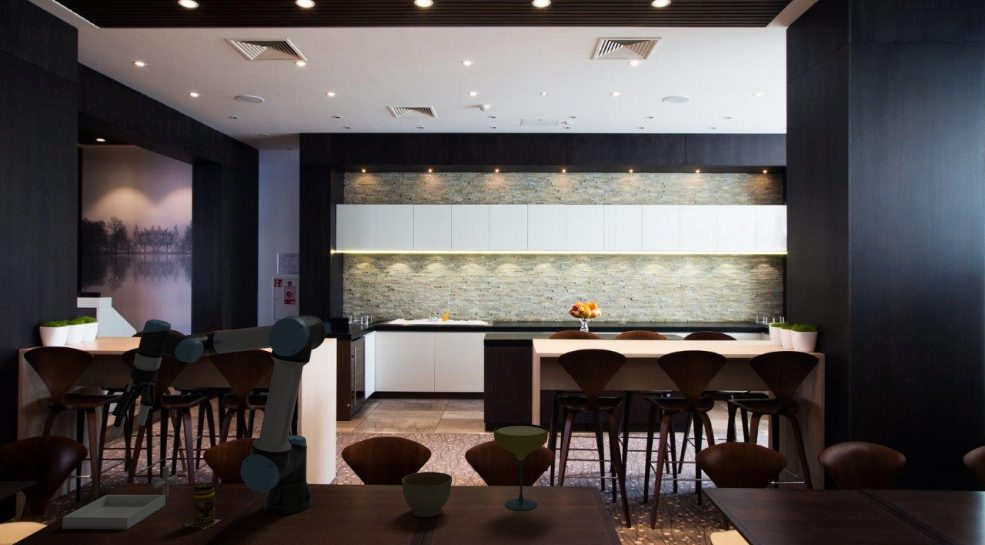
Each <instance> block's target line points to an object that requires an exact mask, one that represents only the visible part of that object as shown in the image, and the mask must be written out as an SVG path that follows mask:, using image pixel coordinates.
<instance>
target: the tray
mask: <svg viewBox="0 0 985 545" xmlns="http://www.w3.org/2000/svg"><path fill="white" fill-rule="evenodd" d="M163 506H164V507H166V497H165V495H161V494H159V495H158V494H151V495H150V494H106V495H104V496H102V497H100V498H98V499H96V500H93V501H92V502H90V503H88V504H85V505H84V506H82V507H80V508H79V509H76V510H74V511H72V512H70V513H69V514H66V515H64V516H62V523H61V524H62V530H129V529H130V527H131V526H132V527H134V526H135V525H137V524H139V523H141V522H142V521H143V520H145V519H146V517H147V518H149V517H150V516H151V515H153V514H154V512H155V511H156V512H158V511H159V510H161V509H163V508H164V507H163ZM162 507H163V508H162ZM160 508H161V509H160ZM157 510H158V511H157ZM156 512H155V513H156ZM152 513H153V514H152ZM149 515H150V516H149ZM141 520H142V521H141ZM138 522H139V523H138ZM136 523H137V524H136ZM133 525H134V526H133ZM132 527H131V528H132Z"/></svg>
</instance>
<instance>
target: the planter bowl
mask: <svg viewBox="0 0 985 545" xmlns="http://www.w3.org/2000/svg"><path fill="white" fill-rule="evenodd" d="M452 481H453V477H452V476H451V474H448V473H445V472H439V471H419V472H414V473H411V474H408V475H407V474H406V475H405V476H404V477H403V478H402V479H401V483H402V492H403V496H404V499H405V501H406V503H407V505H408V506H409V508H410V510H411V513H412V514H413V515H414V516H416V517H420V518H421V517H422V518H430V517H431V518H432V517H435V516H439V515H440V514H441V513H442V512H443V508H444V506H446V504H447V502H448V500H449V498H450V494H451V490H452V483H453V482H452Z"/></svg>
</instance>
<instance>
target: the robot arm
mask: <svg viewBox="0 0 985 545" xmlns="http://www.w3.org/2000/svg"><path fill="white" fill-rule="evenodd" d="M140 334H141V335H140V340H139V343H138V347H137V351H136V353H135V354H134V357H135V358H134V360H133V365H132V366H131V371H130V375H129V377H130V378H131V379H132V383H131V384H125V387H124V390H123V391H122V394H121V395H120V397H119V400H118V401H117V403H116V405H115V407H114V409H113V410H112V412H111V416H114V417H115V418H114V421H113V423H112V424H113V425H112V428H111V432H110V436H112V437H116V438H120V437H121V435H122V433H123V428H124V425H125V423H126V418H127V417H126V415H127V413H128V412H129V410H130V409H131V407H132V405H133V404H134V403H135V401H136V400H137V399H139V398H141V402H142V404H140V406H139V409H138V413H137V417H136V419H135V425H138V426H139V425H140V426H142V427H143V426H145V424H146V421H147V417H148V415H149V414H148V413H149V411H150V407H154V405H155V402H156V383H157V376H158V374H159V369H160V367H161V362H162V360H163V356H167V357H170V358H173V359H176V360H178V361H180V362H183V363H184V362H186V363H189V364H193V363H196V361H198V360H199V359H200V358H201V357H202V356H211V355H217V354H218V355H219V354H227V353H228V354H229V353H235V352H244V351H246V352H247V351H254V350H255V351H256V350H263V349H264V350H266V349H271V355H270V357H271V359H272V360H273V361H274V364H273V365H274V366H273V369H272V370H273V371H272V376H271V380H270V384H269V390H268V395H267V399H266V404H265V407H264V412H263V418H262V422H261V427H260V432H259V436H258V438H256V439H254V440H253V442H252V445H251V448H250V449H251V450H250V454H249V456H247V457H246V458H245V459H244V460H243V461H242V464H241V465H240V476H241V479H242V482H244V483H245V486H247V487H248V488H249V489H251V490H252V491H255V492H261V493H262V492H266V495H265V498H264V501H263V510H264V512H267V513H269V514H275V515H276V514H277V515H284V514H285V515H287V514H293V513H297V512H301V511H304V510H306V509H308V508H310V507H311V506H312V504H313V497H312V494H311V490H310V487H309V485H308V481H307V473H308V472H307V465H308V464H307V463H308V462H307V460H308V458H307V457H308V454H307V453H308V444H307V438H306V437H305V436H302V435H290V431H291V426H292V422H293V416H294V413H295V407H296V403H297V399H298V393H299V388H300V384H301V379H302V375H303V370H304V367H305V366H306V365H307V364H309V363H310V360H311V356H312V351H313V350H315V349H317V348H320V346H322V344H323V343H324V342H325V339H326V337H327V328H326V325H325V323H324V322H323V320H322V319H321V318H319V317H318V316H315V315H311V314H305V315H304V314H303V315H288V316H285V317H283V318H281V319H278V320H277V321H275V323H274V324H271V325H263V326H254V327H246V328H245V327H244V328H238V329H228V330H219V331H208V332H202V333H194V334H185V335H184V334H181V333H176V332H174V331H172V324H171V323H169V322H168V321H165V320H161V319H155V318H154V319H153V318H152V319H148V320H146V322H145V324H144V327H143V329H142V330H141V333H140Z"/></svg>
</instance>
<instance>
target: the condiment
mask: <svg viewBox="0 0 985 545" xmlns="http://www.w3.org/2000/svg"><path fill="white" fill-rule="evenodd" d="M214 487H215V485H214V483H213V482H202V483H198V484H196V485H195V486H194V494H193V498H192V499H193V501H192V502H193V507H192V508H193V512H192V513H193V515H192V517H193V518H192V521H193V523H194V526H195V527H205V528H202V529H201V530H205V529H207V528H210V527H211V526H213V525H215V524H217V523H218V522H220V521H222V519H216V514H215V513H216V492H215V488H214ZM188 526H189V525H188ZM188 526H187V525H186V526H185V527H188ZM207 526H208V527H207Z"/></svg>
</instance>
